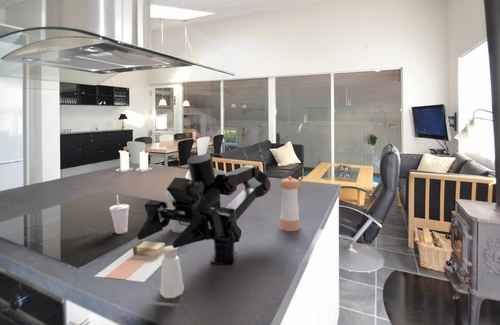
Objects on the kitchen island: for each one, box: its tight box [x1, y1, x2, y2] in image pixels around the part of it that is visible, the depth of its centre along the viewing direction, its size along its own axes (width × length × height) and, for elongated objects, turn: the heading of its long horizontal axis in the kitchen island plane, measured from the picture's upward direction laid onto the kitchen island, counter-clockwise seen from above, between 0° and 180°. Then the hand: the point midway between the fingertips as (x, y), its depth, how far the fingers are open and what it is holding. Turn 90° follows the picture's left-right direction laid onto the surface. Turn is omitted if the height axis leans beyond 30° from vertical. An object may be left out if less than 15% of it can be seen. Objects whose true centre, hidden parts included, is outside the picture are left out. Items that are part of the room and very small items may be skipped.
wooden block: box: [132, 240, 166, 257], centre depth 82 cm, size 8×4×2 cm, turn 79°
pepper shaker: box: [159, 245, 185, 299], centre depth 62 cm, size 5×5×11 cm
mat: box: [94, 245, 180, 283], centre depth 78 cm, size 19×14×1 cm
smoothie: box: [109, 194, 130, 235], centre depth 97 cm, size 6×6×14 cm
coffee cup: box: [164, 191, 187, 233], centre depth 99 cm, size 10×10×15 cm
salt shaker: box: [279, 176, 301, 232], centre depth 100 cm, size 7×7×19 cm
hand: (155, 241), depth 53 cm, fingers open, 9 cm apart
